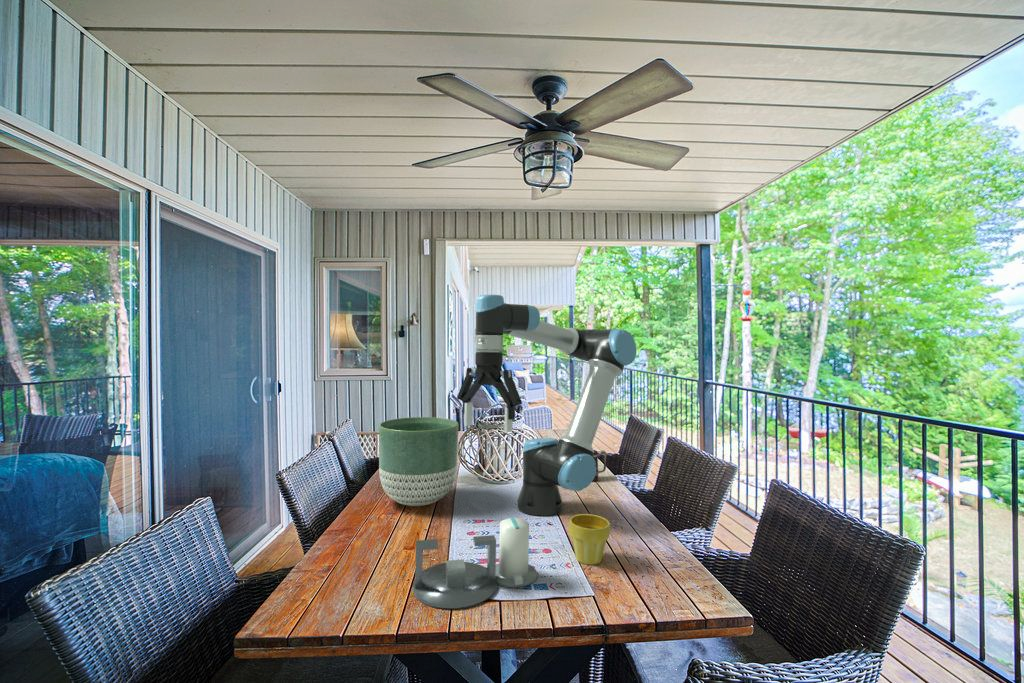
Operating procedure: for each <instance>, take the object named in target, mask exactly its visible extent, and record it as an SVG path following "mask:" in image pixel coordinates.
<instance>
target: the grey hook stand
mask: <svg viewBox="0 0 1024 683" xmlns="http://www.w3.org/2000/svg"><path fill="white" fill-rule="evenodd" d="M472 539H473V545H474V547H480V546H481V547H482V546H484V547H485V546H487V550H486V551H487V553H486V557H487V558H486V560H487V562H486V564H487V565H486V566H487V567H486V566H484V565H482V564H479V563H475V562H470V561H465V560H464V559H453V560H452V559H451V560H450V559H449V560H446V561H445V562H443V563H438V564H435V565H432V566H429V567H428V568H426V569H424V570H423V558H424V557H423V555H424V554H423V553H424V552H423V551H430V550H439V540H438V538H436V539H435V538H434V539H421V540H415V566H414V568H415V572H414V574H415V575H414V576H415V577H414V580H413V584H412V593H413V595H414V597H415V598H416V599H417V600H418V601H419V602H421V603H422V604H424V605H426V606H428V607H430V608H434V609H440V610H463V609H468V608H472V607H475V606H478V605H481V604H483V603H485V602H487V601H488V600H489V599H490V598H492V596H494V594H495V592H496V591H497V588H498V584H497V580H496V579H497V578H496V576H495V575H496V565H497V538H496V537H495V535H493V534H492V535H478V536H473V537H472Z"/></svg>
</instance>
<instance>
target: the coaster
mask: <svg viewBox="0 0 1024 683" xmlns="http://www.w3.org/2000/svg"><path fill="white" fill-rule="evenodd" d="M537 575H538V574H537V570H536V568H535V567H534V566H533V565H531V564H530V563H528V575H527V576H526V577H524V578H523V584H521V585H515V584H514V581H513V580H511V579H506V578H504V577H502V576H501V575H500V574H499V563H496V575H495V576H496V578H497V579H496V580H497V586H498V585H499V586H501V587H505V588H509V587H511V589H512V588H513V589H518V588H517V587H519V588H524V587H523V586H525V587H527V585H528V586H530V585H531V583H532V584H533V583H535V581H536V580H537Z"/></svg>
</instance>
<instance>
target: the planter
mask: <svg viewBox="0 0 1024 683" xmlns="http://www.w3.org/2000/svg"><path fill="white" fill-rule="evenodd" d="M378 426H379V427H378V468H379V469H378V470H379V471H378V472H379V480H380V484H381V487H382V489H383V491H384V492H385V494H386V495H387V496H388V497H389V498H390V499H392V500H393V501H395V502H396V503H398V504H401V505H404V506H408V507H421V506H427V505H431V504H434V503H435V502H438V501H439V500H441V499H442V498H444V497H445V496H446V495H447V494H448V493H449V492H450V490H451V489H452V488H453V485H454V483H455V481H456V476H457V471H458V455H459V454H458V453H459V452H458V450H459V422H458V421H456V420H454V419H450V418H443V417H434V416H433V417H432V416H431V417H429V416H413V417H400V418H393V419H388V420H384V421H382V422H381V423H379V425H378Z"/></svg>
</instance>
